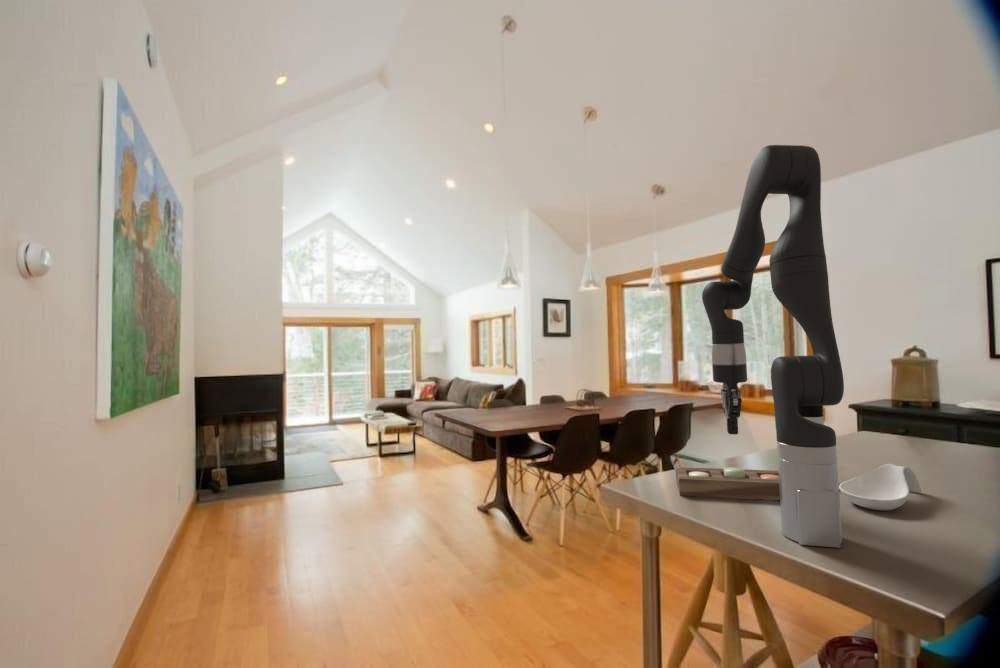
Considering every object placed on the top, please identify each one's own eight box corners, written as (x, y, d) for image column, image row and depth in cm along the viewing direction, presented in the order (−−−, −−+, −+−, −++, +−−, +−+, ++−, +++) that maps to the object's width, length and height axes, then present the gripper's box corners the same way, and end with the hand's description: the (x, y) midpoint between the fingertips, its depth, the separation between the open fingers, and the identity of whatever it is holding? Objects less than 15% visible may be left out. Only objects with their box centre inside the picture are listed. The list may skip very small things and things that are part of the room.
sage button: (747, 484, 110) (746, 472, 110) (726, 483, 111) (725, 471, 111) (743, 479, 114) (742, 467, 114) (722, 478, 116) (722, 467, 116)
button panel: (804, 502, 104) (803, 484, 104) (679, 495, 111) (679, 478, 111) (789, 487, 114) (788, 471, 114) (676, 482, 122) (675, 467, 122)
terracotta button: (786, 492, 107) (785, 480, 108) (763, 491, 109) (763, 479, 109) (780, 486, 112) (779, 474, 112) (758, 485, 113) (758, 473, 113)
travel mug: (799, 483, 117) (794, 403, 118) (796, 476, 123) (792, 400, 123) (829, 486, 114) (824, 404, 115) (825, 479, 120) (820, 401, 120)
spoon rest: (896, 521, 92) (894, 484, 92) (829, 505, 102) (827, 472, 102) (940, 497, 104) (938, 465, 104) (876, 485, 114) (875, 456, 114)
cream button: (710, 488, 112) (710, 476, 112) (690, 487, 113) (689, 476, 113) (708, 483, 116) (707, 471, 117) (688, 482, 118) (687, 471, 118)
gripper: (752, 363, 106) (756, 439, 106) (740, 361, 119) (744, 429, 118) (716, 364, 108) (720, 438, 108) (708, 361, 121) (712, 428, 120)
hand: (732, 433), depth 113 cm, fingers closed
